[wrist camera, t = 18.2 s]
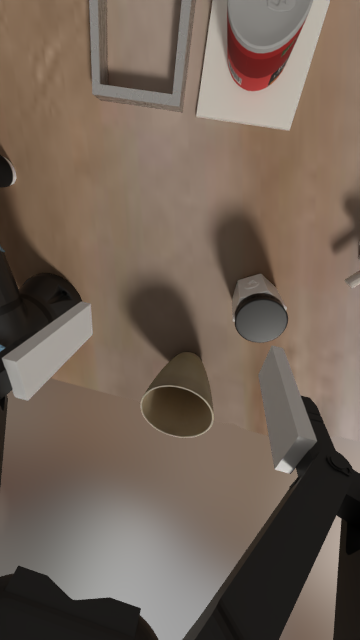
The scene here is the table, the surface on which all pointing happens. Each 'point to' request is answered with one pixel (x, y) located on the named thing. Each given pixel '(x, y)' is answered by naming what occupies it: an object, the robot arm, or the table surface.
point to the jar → (258, 309)
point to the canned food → (262, 38)
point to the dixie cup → (6, 172)
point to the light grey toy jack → (354, 278)
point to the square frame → (134, 95)
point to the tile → (264, 105)
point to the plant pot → (180, 398)
